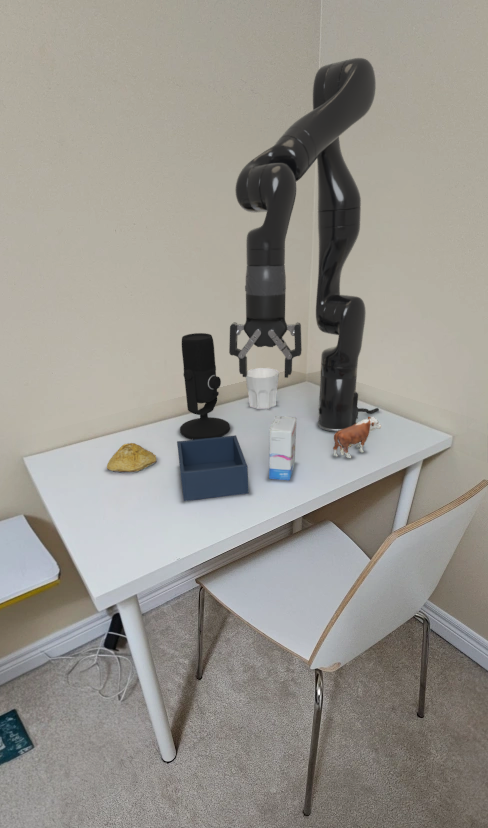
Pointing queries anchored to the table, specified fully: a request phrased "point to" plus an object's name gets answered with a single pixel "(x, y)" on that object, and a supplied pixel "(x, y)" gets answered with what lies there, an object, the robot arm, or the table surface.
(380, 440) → the table surface
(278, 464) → the ink box
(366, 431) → the bull figurine
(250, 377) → the cup
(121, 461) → the fossil
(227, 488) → the box
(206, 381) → the microphone
